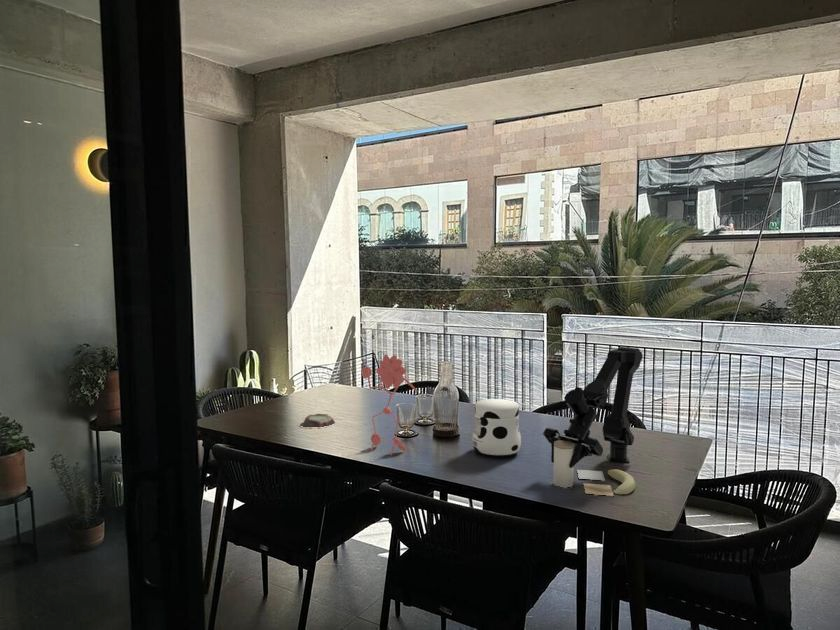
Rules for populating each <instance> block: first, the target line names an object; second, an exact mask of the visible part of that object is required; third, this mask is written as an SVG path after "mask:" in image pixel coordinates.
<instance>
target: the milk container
mask: <svg viewBox="0 0 840 630" xmlns="http://www.w3.org/2000/svg"><path fill="white" fill-rule="evenodd" d="M519 413H520V407H519V403H518V402H517V401H514V400H510V399H506V398H505V399H503V398H486V399H480V400H478V401H477V402H475V407H474V429H473V432H472V433H473V434H472V445H473V449H474V451H476V452H477V453H479V454H480V455H483V456H486V457H487V456H488V457H493V458H495V457H497V458H503V457H510V456H513V455H515V454H517V453H519V451H520V449H521V447H522V446H521V444H522V436H521V432H520V429H519V428H520V427H519V423H520V422H519V419H520V414H519Z"/></svg>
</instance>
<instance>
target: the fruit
mask: <svg viewBox="0 0 840 630" xmlns="http://www.w3.org/2000/svg"><path fill="white" fill-rule="evenodd" d="M607 475H609V476H610V477H611V479H613V478H614V479H613V480H615V479H616V480H615V481H617V480H618V481H617V482H619V481H620V482H619V483H621V484H620V485H619V486H618V487H617V488H616V489H614V490H612V491H613V494H614V493H615V494H614V495H622V494H625V495H628V494H630V493H631V492H633V491H634V490H635V487H636V481H635V478H634V477H633V476H632V475H631V474H629V473H627V472H625V471H623V470H621V469H616V468H613V469H609V470H607Z"/></svg>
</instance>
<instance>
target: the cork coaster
mask: <svg viewBox="0 0 840 630" xmlns="http://www.w3.org/2000/svg"><path fill="white" fill-rule="evenodd" d="M582 485H584V486H583V490H584V489H585V490H584V493H586V494H594V495H593V496H598V495H606V496H605V497H613V496H614V495H615V494H614V493H613V491H614V490H613V489H612V486H611V485H610V484H599V483H597V484H596V483H585V482H584V483H582ZM586 494H585V495H586ZM614 497H615V496H614Z"/></svg>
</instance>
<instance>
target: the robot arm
mask: <svg viewBox="0 0 840 630" xmlns="http://www.w3.org/2000/svg"><path fill="white" fill-rule="evenodd" d="M642 360H643V352H642V351H641V350H640V349H639V348H638V347H637V348H636V347H628V346H619V347H618V348H616V349H611V350H609V351H608V352H607V357H606V359H605V361H604V363H603V364H602V366H601V368H600V370H599V371H598V373H597V375H596V376H595V378H594V380H593V381H591V382H590V383H588V384H586V386H585V387H584V389H583V388H582V387H578V386H575V388H574V389H571V390H570V391H568V392H567V393H566V394H565V395H564V402H565V403H566V405H567V406H568V408H569V409H570V410H571V412H572V413H573V414H574V416H573V418H569V423H570V424H569V426H568V429H564V431H563V433H564V435H563V434H561V433H560V432H559V430H558V429H555V428H551V427H545V429H544V431H543V433H542V435H543V437H545V439H546V440H547V442H548V443H550V444H551V455H550V456H551V458H550V461H551V463H553V464H554V442H555V441H560V440H564V441H570V442H573V443H574V453H573V456H572V458H571V461H570V464H569V467H570V468H572V467H573V466H575V465H577V464H578V463H579V461H581V460H582V459H584V458H585V457H592V456H597V457H602V455H603V452H604V448H603V446H602V444H601V443H600V441H599V440H598V439H596V438H593V437H590V434H591V430H590V428H591V426H592V424H593V422H594V420H599V416H598V412H597V410H595V408H596V409H603V408H604V407H605V406H606V404H607V401H608V398H609V391H608V390H609V388H610V386H611V384H612V382H613V380H614V379H615V376H616V374H617V378H616V384H615V391H614V397H613V402H612V408H611V412H610V413H609V414H608V415H605V417H604V418H603V419H604V420H603V426H602V434H603V440H604V441H606V442H609V454H607V459H608V461H609V462H610V463H611V462H613V463H630V459H629V457H628V446H632V445H633V444H634V441H635V436H634V434H633V433H632V431H631V428H630V426H631V423H630V421H629V419H628V415H627V414H628V408H629V401H630V396H631V390H632V383H633V378H634V374H635V373H636V371H637V370H639V368H640V365H641V362H642Z"/></svg>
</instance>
